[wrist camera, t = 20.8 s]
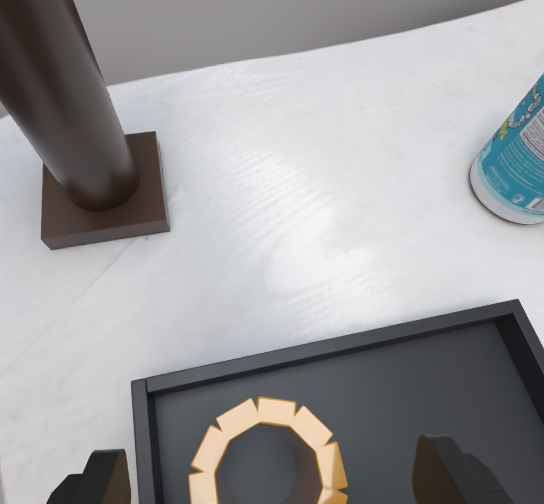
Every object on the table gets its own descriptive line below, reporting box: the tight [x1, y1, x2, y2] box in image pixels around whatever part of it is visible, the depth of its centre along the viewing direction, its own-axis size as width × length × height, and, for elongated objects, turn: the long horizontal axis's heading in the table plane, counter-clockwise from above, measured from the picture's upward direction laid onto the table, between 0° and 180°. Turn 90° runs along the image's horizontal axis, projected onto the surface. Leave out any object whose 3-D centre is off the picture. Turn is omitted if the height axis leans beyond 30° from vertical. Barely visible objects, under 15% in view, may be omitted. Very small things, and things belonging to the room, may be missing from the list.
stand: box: [0, 0, 170, 249], centre depth 19 cm, size 8×8×22 cm
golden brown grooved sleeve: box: [188, 396, 348, 504], centre depth 18 cm, size 6×6×8 cm
